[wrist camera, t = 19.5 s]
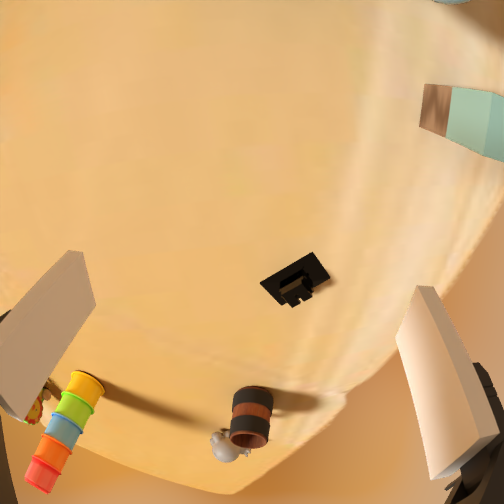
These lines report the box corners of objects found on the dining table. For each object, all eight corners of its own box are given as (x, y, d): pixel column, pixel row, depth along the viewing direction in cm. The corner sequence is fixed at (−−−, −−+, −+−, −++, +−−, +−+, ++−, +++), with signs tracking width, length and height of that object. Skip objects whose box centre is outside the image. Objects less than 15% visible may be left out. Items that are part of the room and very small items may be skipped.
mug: (224, 406, 69) (216, 448, 59) (242, 380, 63) (235, 427, 53) (258, 416, 70) (253, 457, 60) (280, 391, 64) (277, 438, 54)
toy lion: (24, 363, 75) (1, 398, 62) (36, 367, 74) (13, 404, 61) (44, 394, 83) (25, 427, 70) (56, 398, 82) (37, 433, 69)
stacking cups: (109, 398, 75) (65, 504, 45) (78, 388, 75) (31, 486, 45) (99, 375, 69) (45, 490, 40) (67, 365, 70) (10, 470, 40)
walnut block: (424, 84, 33) (452, 86, 26) (461, 95, 32) (492, 101, 25) (419, 126, 36) (445, 137, 29) (455, 136, 35) (485, 149, 28)
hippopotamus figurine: (247, 435, 80) (255, 461, 74) (206, 439, 76) (213, 467, 69) (254, 425, 77) (263, 452, 70) (211, 430, 72) (218, 459, 66)
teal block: (452, 86, 26) (492, 92, 19) (492, 101, 25) (534, 112, 19) (445, 137, 29) (482, 155, 22) (485, 149, 28) (524, 169, 22)
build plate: (277, 309, 53) (275, 328, 49) (249, 280, 51) (246, 298, 47) (341, 274, 49) (345, 292, 45) (316, 239, 46) (319, 256, 42)
